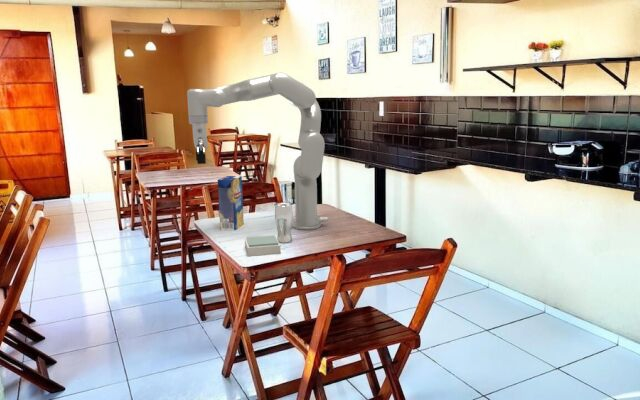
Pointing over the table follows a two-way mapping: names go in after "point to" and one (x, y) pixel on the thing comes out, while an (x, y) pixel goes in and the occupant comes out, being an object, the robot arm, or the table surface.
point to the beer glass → (283, 221)
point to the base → (262, 245)
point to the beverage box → (230, 202)
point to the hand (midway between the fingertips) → (201, 162)
